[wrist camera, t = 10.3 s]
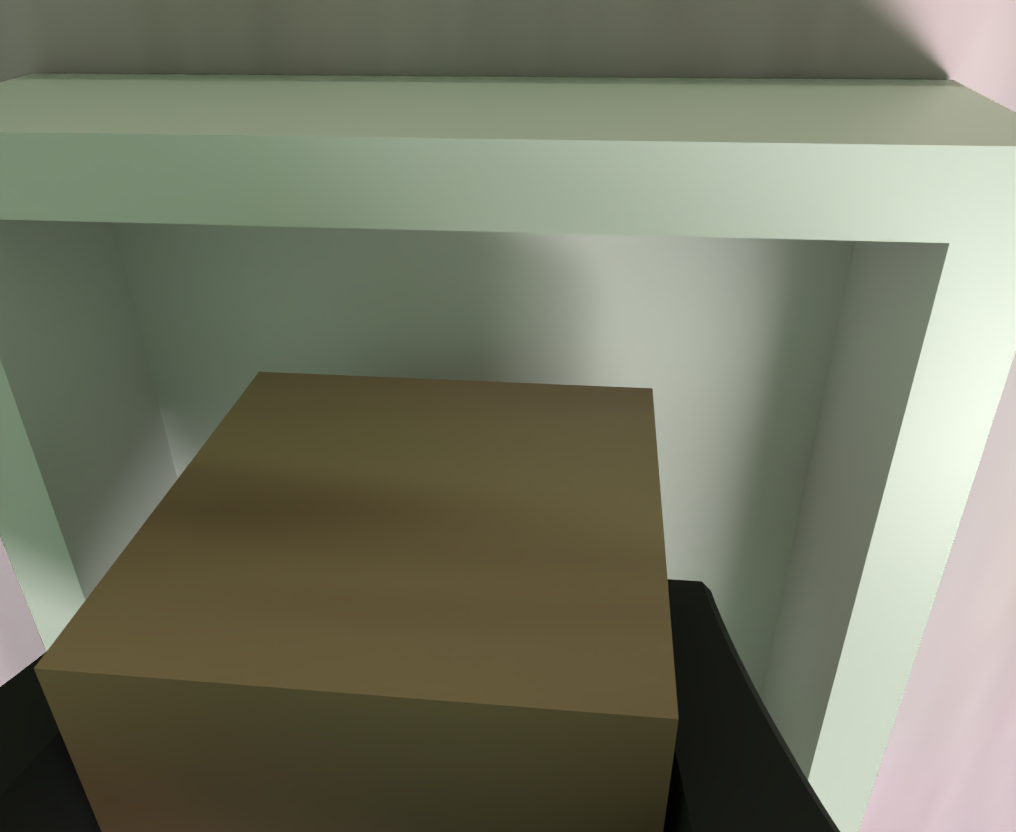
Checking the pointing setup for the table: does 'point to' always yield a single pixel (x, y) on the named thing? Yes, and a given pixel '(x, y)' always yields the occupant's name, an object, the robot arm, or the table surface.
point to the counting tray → (538, 318)
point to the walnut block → (386, 620)
